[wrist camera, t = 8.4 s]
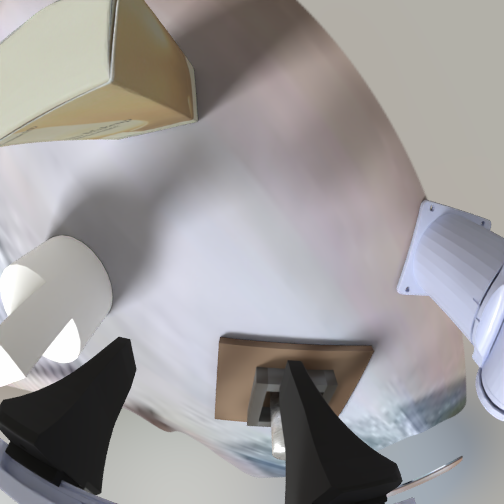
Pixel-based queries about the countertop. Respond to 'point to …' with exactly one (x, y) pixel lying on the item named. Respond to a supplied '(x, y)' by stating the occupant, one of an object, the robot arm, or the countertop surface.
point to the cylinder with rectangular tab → (51, 305)
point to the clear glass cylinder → (276, 428)
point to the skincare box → (92, 74)
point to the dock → (281, 375)
